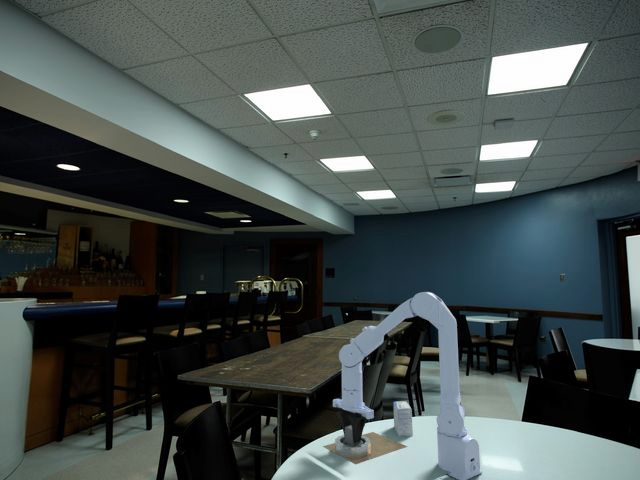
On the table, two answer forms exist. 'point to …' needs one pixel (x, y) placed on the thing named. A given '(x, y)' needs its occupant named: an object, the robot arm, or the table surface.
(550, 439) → the table surface
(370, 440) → the board with octagonal ring
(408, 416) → the medicine box
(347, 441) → the cap
